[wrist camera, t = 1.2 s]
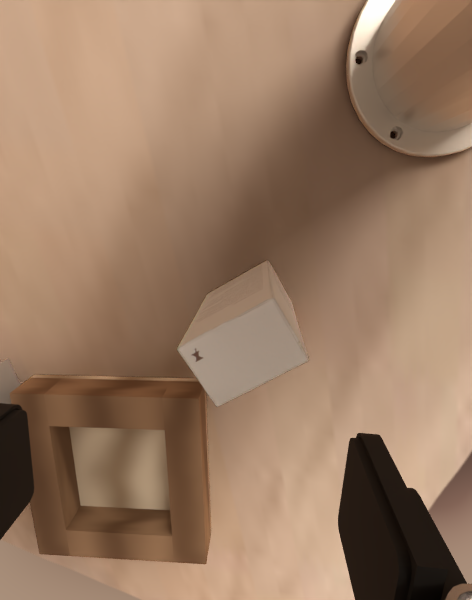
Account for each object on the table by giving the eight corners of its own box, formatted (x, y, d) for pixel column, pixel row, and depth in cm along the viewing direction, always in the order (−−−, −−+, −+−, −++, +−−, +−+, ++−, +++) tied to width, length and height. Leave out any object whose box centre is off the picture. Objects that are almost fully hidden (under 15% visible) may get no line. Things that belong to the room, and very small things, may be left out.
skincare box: (232, 335, 32) (213, 411, 21) (206, 293, 32) (172, 348, 20) (294, 301, 31) (312, 362, 20) (269, 257, 30) (272, 294, 19)
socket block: (205, 378, 34) (199, 398, 30) (211, 531, 38) (206, 564, 35) (34, 374, 35) (9, 393, 31) (59, 523, 39) (39, 553, 36)
